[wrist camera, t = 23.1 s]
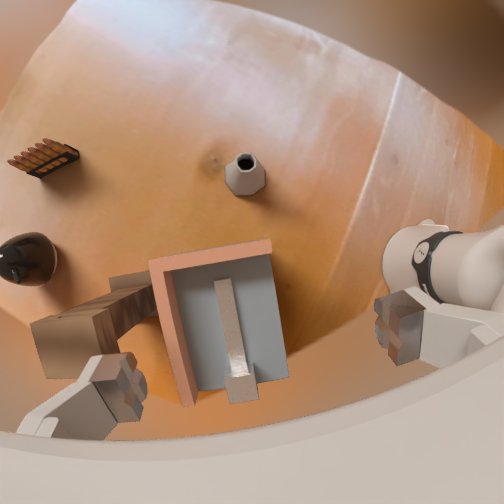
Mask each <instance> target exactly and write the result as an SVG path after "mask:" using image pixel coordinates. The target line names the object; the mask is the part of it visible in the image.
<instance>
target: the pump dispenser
mask: <svg viewBox="0 0 504 504" xmlns="http://www.w3.org/2000/svg"><path fill="white" fill-rule="evenodd" d="M56 267H57V252H56V249H55V246H54V245H53V243H52V242H51V241H50V240H49V239H48V238H47V237H46V236H45V235H43V234H41V233H38V232H29V233H24V234H21V235H18V236H15V237H13V238H11V239H9V240H8V241H6V242H5V243H4V244H2V245H1V246H0V276H1V277H2V278H3V279H5V280H6V281H8V282H11V283H14V284H17V285H22V286H40V285H43V284H45V283H46V282H47V281H48V280H49V279H50V278H51V276H52V275H53V274H54V272H55V270H56Z"/></svg>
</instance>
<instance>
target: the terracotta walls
mask: <svg viewBox="0 0 504 504" xmlns="http://www.w3.org/2000/svg"><path fill="white" fill-rule="evenodd" d="M268 253H273V252H272V246H271V240H270V239H265V240H259V241H253V242H247V243H242V244H236V245H230V246H224V247H219V248H213V249H207V250H202V251H196V252H190V253H185V254H179V255H173V256H168V257H162V258H157V259H152V260H148V264H149V270H150V275H151V280H152V285H153V290H154V295H155V300H156V305H157V310H158V314H159V319H160V323H161V327H162V332H163V336H164V340H165V344H166V348H167V352H168V356H169V360H170V364H171V367H172V371H173V375H174V378H175V382H176V386H177V389H178V392H179V396H180V399H181V403H182V406H183V407H189V406H195V403H196V399H197V396H198V392H199V391H198V387H197V384H196V380H195V376H194V372H193V368H192V364H191V360H190V356H189V352H188V348H187V343H186V339H185V335H184V330H183V326H182V321H181V317H180V312H179V307H178V302H177V298H176V293H175V288H174V282H173V277H172V272H171V270H176V269H182V268H188V267H193V266H199V265H205V264H211V263H217V262H222V261H228V260H234V259H240V258H245V257H251V256H257V255H263V254H268Z"/></svg>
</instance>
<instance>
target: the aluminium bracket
mask: <svg viewBox="0 0 504 504" xmlns="http://www.w3.org/2000/svg"><path fill="white" fill-rule="evenodd" d="M214 285H215V290H216V296H217V301H218V306H219V311H220V316H221V322H222V327H223V332H224V336H225V341H226V346H227V351H228V356H229V360H230V365H228V366H225V373H224V382H225V386H226V390H227V394H228V399H229V403H230V404H233V403H239V402H246V401H253V400H259V396H258V388H257V382H256V376H255V371H254V366H253V362H247V361H246V356H245V351H244V346H243V341H242V335H241V330H240V325H239V320H238V314H237V309H236V303H235V298H234V293H233V287H232V282H231V278H226V279H220V280H214Z"/></svg>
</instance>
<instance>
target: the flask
mask: <svg viewBox="0 0 504 504" xmlns="http://www.w3.org/2000/svg"><path fill="white" fill-rule="evenodd" d="M225 183H226V185H227V186H228V187H229V189H230V190H231V191H232V192H233V194H234V195H235V196H237V195H250V196H252V195H253V194H254V193H256V192H257V191H258V190H260V189H261V188H262V187H264V186H265V170H264V168H263V167H262V166H261V165H260V163H259V162H258V161H257V159H256V157H255V156H254V155H253V154H252V152H242V153H241V154H239V155H238V156H237V157H235V160H234V161H232V162H231V163H229V164H228V165H227V166H225Z"/></svg>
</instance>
